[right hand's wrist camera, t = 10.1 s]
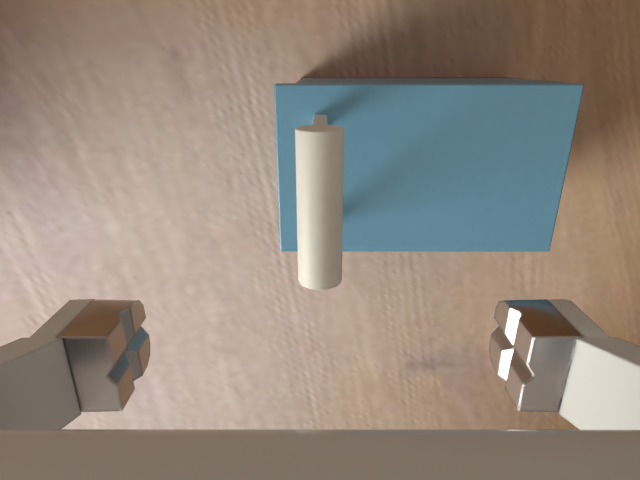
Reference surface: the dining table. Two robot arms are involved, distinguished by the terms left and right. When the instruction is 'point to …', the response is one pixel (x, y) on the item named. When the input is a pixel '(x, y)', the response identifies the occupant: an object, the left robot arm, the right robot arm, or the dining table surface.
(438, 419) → the dining table surface
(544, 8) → the dining table surface
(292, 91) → the lid
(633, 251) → the dining table surface
